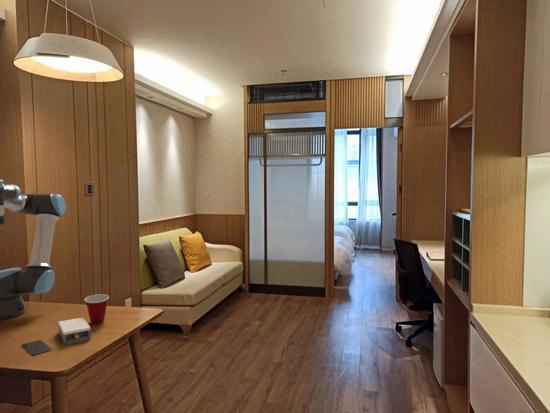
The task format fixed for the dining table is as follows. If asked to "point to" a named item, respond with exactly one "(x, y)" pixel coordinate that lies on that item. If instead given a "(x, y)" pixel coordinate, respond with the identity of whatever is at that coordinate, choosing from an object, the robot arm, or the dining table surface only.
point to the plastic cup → (96, 307)
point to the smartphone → (36, 347)
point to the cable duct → (74, 336)
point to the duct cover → (73, 326)
